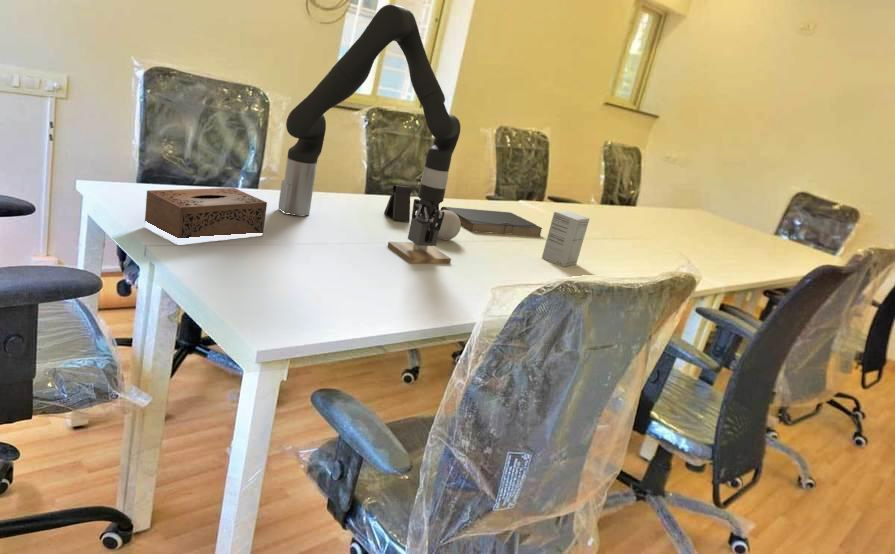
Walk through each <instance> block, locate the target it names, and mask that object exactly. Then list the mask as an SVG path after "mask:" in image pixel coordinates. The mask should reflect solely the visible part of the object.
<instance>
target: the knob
mask: <svg viewBox="0 0 895 554" xmlns="http://www.w3.org/2000/svg"><path fill="white" fill-rule="evenodd" d="M433 219H434V218H433ZM433 219H430V220H433ZM437 225H438V224H437V223H436V226H437ZM427 226H428V224H427V223H426V222H425V217H424V216H418V218H412V217H411V219H410V224H409V229H408V236H407V239H408V240H409V242H410V241H411V242H413V243H415V244H416V245H418V246H433V247H436V246H437V242H438V233H439V231H435V232H434V236H433V240H432V242H431V243H426V242H425V237H426V232H427ZM431 226H432V223H431Z"/></svg>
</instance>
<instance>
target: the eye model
mask: <svg viewBox="0 0 895 554" xmlns="http://www.w3.org/2000/svg"><path fill="white" fill-rule="evenodd" d="M442 212H444V213H445V214H444V218H443V221H442V224H441V228H440V230H439V233H438V237H437V239H440V240H442V241H443V240H444V241H448V240H449V241H450V240H452V239H454V238H455V237H457V236H458V234H459V232H460V231H461V228H462V226H461V222H460V219H459V217H458V216H457V214H455V213H454V212H452V211H450V210H442ZM437 224H438V223H437Z"/></svg>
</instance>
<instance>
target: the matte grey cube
mask: <svg viewBox="0 0 895 554" xmlns="http://www.w3.org/2000/svg"><path fill="white" fill-rule="evenodd" d="M427 247H428V246H418V245H416V244H415V243H414V246H413V249H415V250H416V251H417V252H427Z"/></svg>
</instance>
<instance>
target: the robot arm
mask: <svg viewBox="0 0 895 554" xmlns="http://www.w3.org/2000/svg"><path fill="white" fill-rule="evenodd" d="M415 17H416V16H415V15H414V13H413V12H412V11H411V10H410V9H408V8H407V7H404V6H401V5H397V4H393V3H391V4H389V3H388V4H385V5H383V6H382V7H381V8H380V9H378V10H377V12H376V13H375V14H374V16H373V18H372V19H371V20H370V22H369V24H368V25H367V26H366V28H364V30H363V32H362V33H361V35H360V36H359V37H358V38H357V39H356V41H355V42H353V44H352V45H351V46H350V48H349V49H348V50H347V51H346V52H345V53H344V55H342V56H341V57H340V59H338V61H337V62H336V63H335V64H334V66H333V67H331V69H330V70H329V72H328V73H327V74H326V75H324V78H322V80H321V81H320V82H319V83H317V86H315V87H314V89H313V90H312V91H311V92H310V93H309V94H308V95H307V96H306V97H305V98H304V99H302V101H300V102H299V103H298V105H295V107H294V108H293V109H292V110H291V111H290V112H289V114H288V116H287V118H286V124H285V125H286V127H285V128H286V131H287V133H288V134H289V135H290V136H291V137H292V138H295V139H297V142H296V143H295V144H294V145H293V146H291V147H290V148H289V149H288V152H287V155H286V157H287V158H286V165H285V171H284V180H283V179H282V180H281V186H280V192H279V198H278V199H279V200H278V207H279V208H280V209H281V210H282V211H284V212H285V213H290V214H295V215H304V216H303V217H306V216H305V215H308V216H309V215H310V212H311V205H312V199H313V198H312V197H313V194H314V193H313V192H314V185H315V179H316V172H317V165H318V161H319V160H318V159H319V157H320V156H321V153H322V149H323V145H324V141H325V135H326V129H327V127H326V126H327V123H326V117H325V115H324V114H325V113H326V112H327V111H329V110H330V109H332V108H334V107H335V106H337V105H339V104H341V103H342V102H344V101H345V100H347V99H349V98H350V97H352V96H353V95H354V94H355V93H356V92H357V91H358V89H360V88H361V86H362V85H363V84H364V83H365V81H366V80H367V79H368V77H369V76H370V73H371V70H372V67H373V64H374V63H375V60H376V59H377V57H378V56H379V55H380V53H381V52H383V50H385V49H386V47H387V46H388V45H390V44H391V43H392V42H396V43H397V45H398V46H399V47H400V50H401V51H402V54H403V55H404V57H405V60H406V63H407V67H408V72H409V78H410V83H411V85H412V88H413V90H414V93H415V95H416V97H417V100H418V101H419V103H420V105H421V107H422V110H423V115H424V119H425V122H426V126H427V128H428V131H429V132H430V134H431V135H432V136H433V137H434V140H433V144H432V146H431V147H429V149H428V151H427V153H426V159H425V163H424V168H423V172H422V174H421V179H420V183H419V188H418V189H419V190H418V194H417V197H418V198H414V200H413V205H412V212H411V219H412V218H418V216H424V217H425V222H426V223H427V224H428V226H427V232H426V237H425V242H426V243H431V242H432V240H433V236H434V232H435V231H439V230H440V228H441V224H442V221H443V218H444V214H445V213H444V212H442V211H440V210H441V209H440V207H439V206H440V204H441V203H442V202H444V199H445V193H446V190H447V185H448V180H449V172H450V171H449V170H450V166H451V161H452V157H453V153H454V151H455V149H456V146H457V143H458V141H459V138H460V133H461V123H460V120H459V118H458V117H457V116H456V115H454V114H449V113H448V110H447V107H446V105H445V102H446V97H445V94H444V92H443V90H442V87H441V85H440V83H439V81H438V79H437V77H436V74H435V73H434V70H433V68H432V66H431V63H430V61H429V58H428V55H427V53H426V50H425V47H424V43H423V40H422V37H421V33H420V31H419V30H420V29H419V26H418V24H417V20H416V18H415ZM433 218H434V219H433ZM430 219H433V220H430ZM431 223H432V226H431ZM436 223H438V225H437V226H436Z"/></svg>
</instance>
